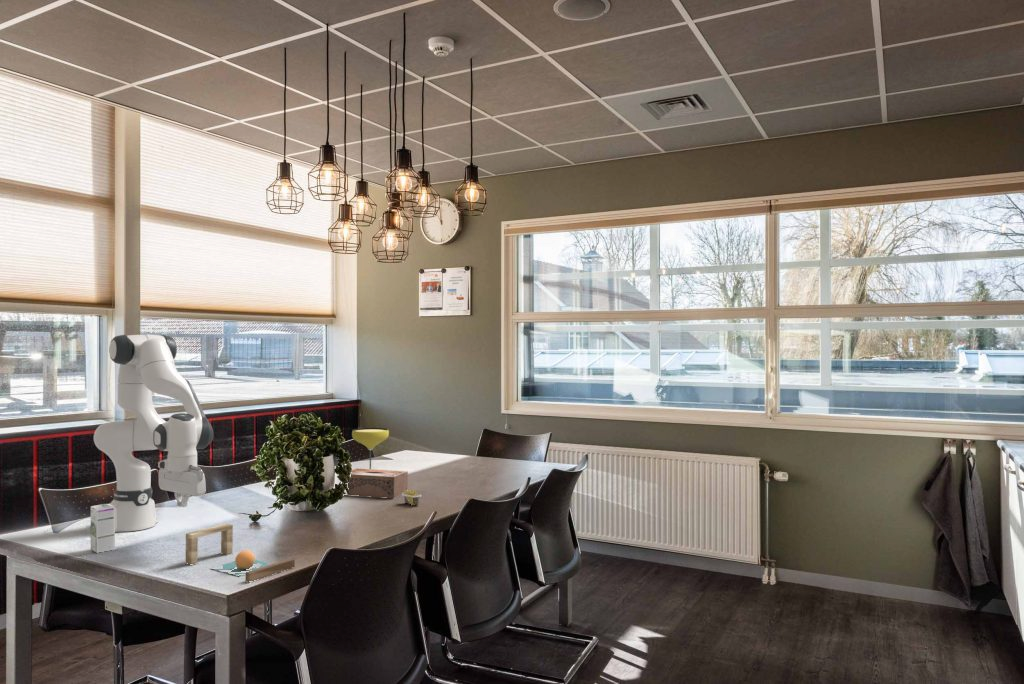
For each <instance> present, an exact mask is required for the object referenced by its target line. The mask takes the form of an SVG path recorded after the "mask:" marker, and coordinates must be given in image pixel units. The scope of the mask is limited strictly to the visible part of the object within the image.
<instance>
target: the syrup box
mask: <svg viewBox="0 0 1024 684" xmlns="http://www.w3.org/2000/svg"><path fill="white" fill-rule="evenodd" d="M90 550H91V551H92V552H94V553H95V552H96V554H100V553H99V552H103V553H105V552H104V551H108V552H111V551H110V550H112V551H115V550H116V532H115V506H112V505H110V503H101V504H97V505H91V506H90Z"/></svg>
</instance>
